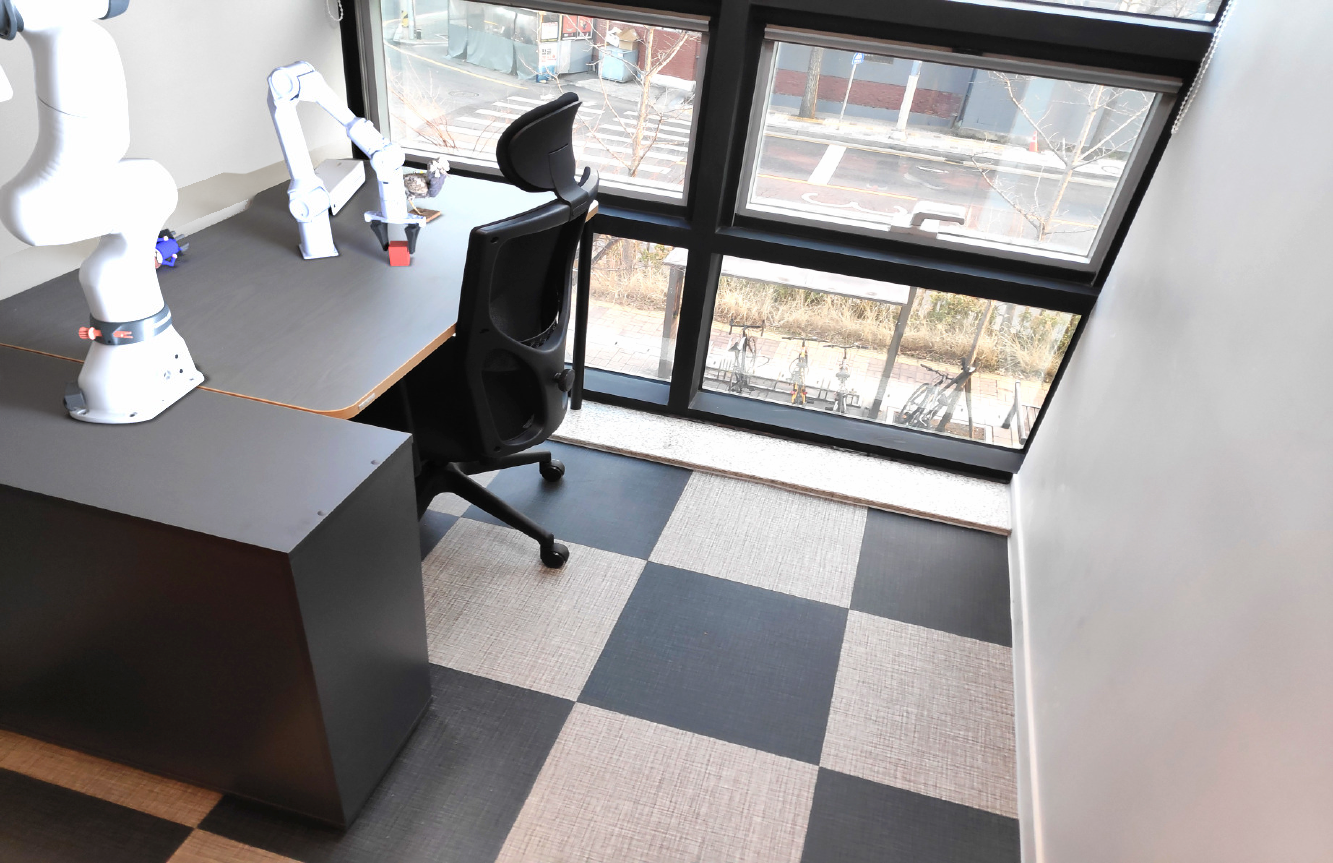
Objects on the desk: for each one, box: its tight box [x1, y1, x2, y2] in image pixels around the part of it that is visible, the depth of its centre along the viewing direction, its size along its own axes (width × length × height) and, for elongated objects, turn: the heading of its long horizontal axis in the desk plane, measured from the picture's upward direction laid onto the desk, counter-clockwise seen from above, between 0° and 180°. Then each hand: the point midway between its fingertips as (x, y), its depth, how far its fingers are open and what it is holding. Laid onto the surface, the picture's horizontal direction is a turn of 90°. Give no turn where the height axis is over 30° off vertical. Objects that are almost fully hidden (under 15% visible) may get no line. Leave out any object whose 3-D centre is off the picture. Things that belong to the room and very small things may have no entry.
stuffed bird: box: [402, 156, 454, 223], centre depth 226 cm, size 10×20×17 cm, turn 93°
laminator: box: [287, 158, 366, 217], centre depth 238 cm, size 34×12×6 cm, turn 2°
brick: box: [388, 240, 411, 267], centre depth 202 cm, size 4×4×5 cm
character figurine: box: [154, 227, 190, 270], centre depth 191 cm, size 8×7×15 cm
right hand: (399, 251), depth 202 cm, fingers open, 6 cm apart
